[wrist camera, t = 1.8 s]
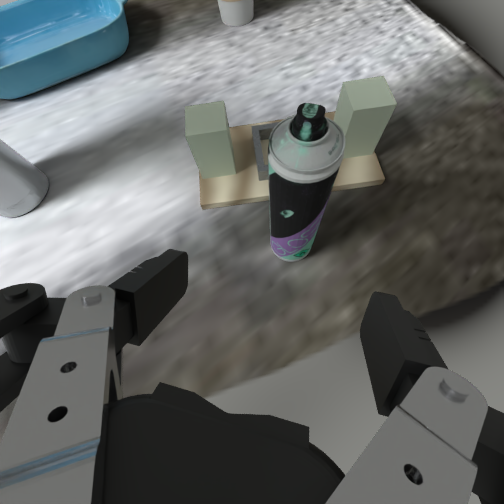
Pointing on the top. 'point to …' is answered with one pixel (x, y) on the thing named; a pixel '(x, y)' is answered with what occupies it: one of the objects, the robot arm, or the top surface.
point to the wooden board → (252, 190)
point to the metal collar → (261, 134)
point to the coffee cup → (236, 11)
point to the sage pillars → (346, 116)
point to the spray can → (301, 178)
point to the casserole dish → (57, 41)
